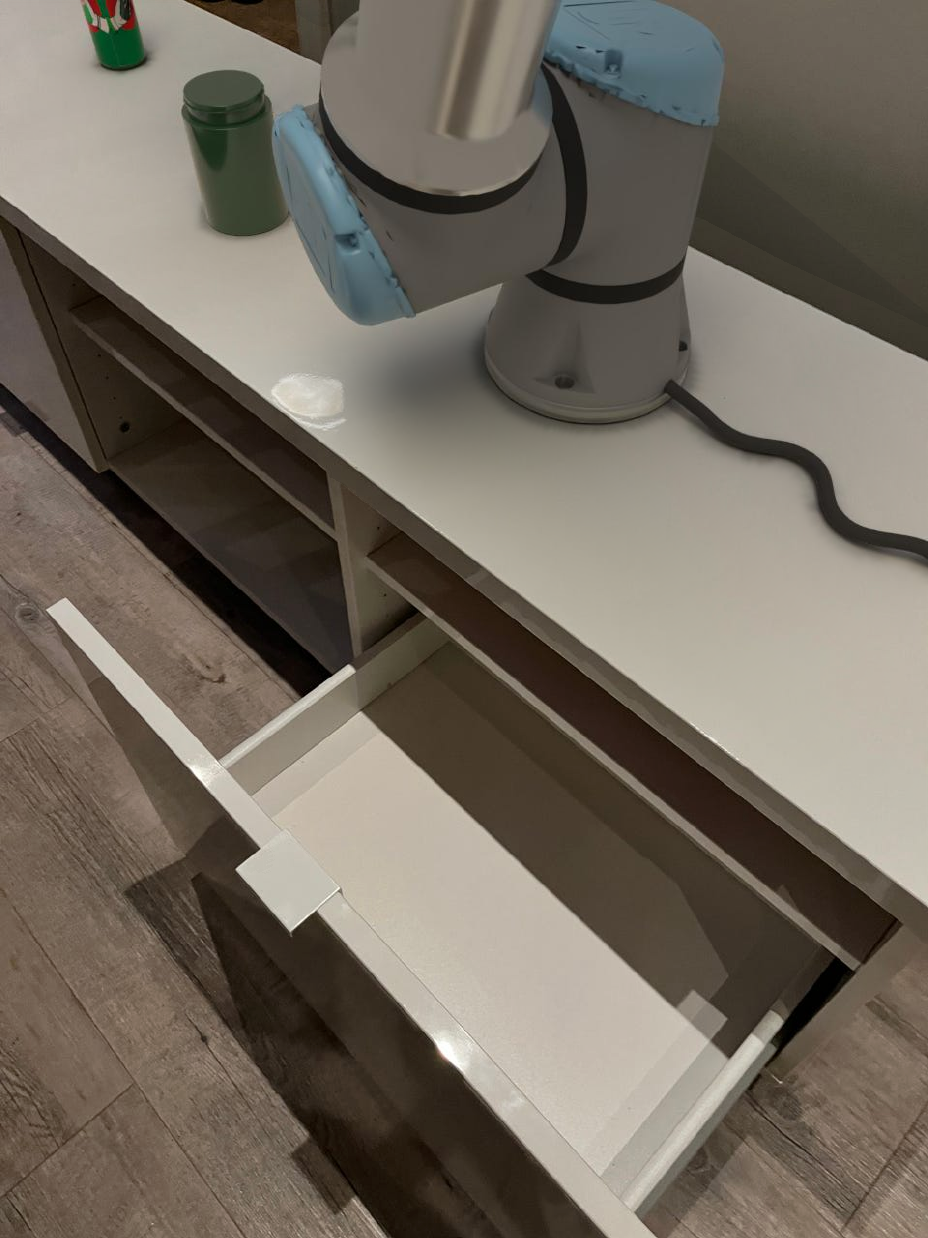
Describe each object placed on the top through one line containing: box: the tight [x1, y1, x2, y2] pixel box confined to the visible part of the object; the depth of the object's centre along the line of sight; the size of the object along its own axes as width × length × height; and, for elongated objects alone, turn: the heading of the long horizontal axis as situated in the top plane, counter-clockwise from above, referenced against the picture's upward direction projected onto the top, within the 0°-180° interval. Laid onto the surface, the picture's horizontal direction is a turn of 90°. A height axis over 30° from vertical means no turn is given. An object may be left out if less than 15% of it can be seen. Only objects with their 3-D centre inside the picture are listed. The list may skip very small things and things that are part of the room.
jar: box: [180, 69, 289, 237], centre depth 77 cm, size 7×7×10 cm
